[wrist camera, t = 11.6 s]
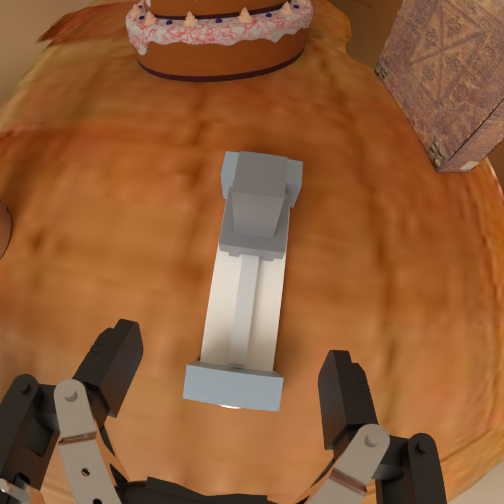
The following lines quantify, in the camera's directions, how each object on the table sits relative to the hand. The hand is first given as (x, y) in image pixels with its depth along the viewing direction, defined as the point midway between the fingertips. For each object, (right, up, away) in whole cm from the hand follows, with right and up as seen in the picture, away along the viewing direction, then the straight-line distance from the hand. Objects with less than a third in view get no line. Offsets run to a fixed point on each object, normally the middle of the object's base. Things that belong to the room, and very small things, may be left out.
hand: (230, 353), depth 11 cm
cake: (-6, +47, +33) cm, 58 cm away
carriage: (+1, +6, +18) cm, 19 cm away
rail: (0, +1, +18) cm, 18 cm away
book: (+32, +29, +28) cm, 51 cm away
